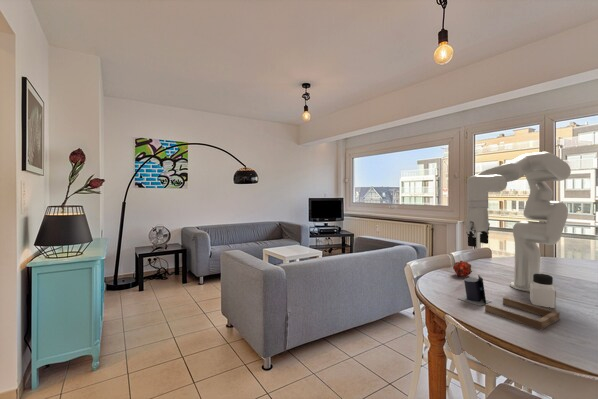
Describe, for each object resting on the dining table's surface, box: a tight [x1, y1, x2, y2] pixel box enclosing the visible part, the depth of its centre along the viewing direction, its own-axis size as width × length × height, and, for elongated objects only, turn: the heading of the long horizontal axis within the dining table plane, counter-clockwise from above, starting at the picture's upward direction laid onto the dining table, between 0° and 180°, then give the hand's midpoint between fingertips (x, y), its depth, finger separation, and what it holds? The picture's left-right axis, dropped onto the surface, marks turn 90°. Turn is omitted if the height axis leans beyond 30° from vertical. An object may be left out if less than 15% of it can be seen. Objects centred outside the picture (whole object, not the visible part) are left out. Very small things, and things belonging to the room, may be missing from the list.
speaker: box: [463, 274, 487, 304], centre depth 123 cm, size 8×6×10 cm
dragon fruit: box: [452, 260, 473, 277], centre depth 158 cm, size 8×8×12 cm
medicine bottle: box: [529, 272, 557, 309], centre depth 119 cm, size 7×7×12 cm
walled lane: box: [484, 296, 561, 330], centre depth 108 cm, size 15×18×2 cm
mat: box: [457, 295, 492, 307], centre depth 123 cm, size 9×9×1 cm
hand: (478, 244), depth 125 cm, fingers open, 9 cm apart
